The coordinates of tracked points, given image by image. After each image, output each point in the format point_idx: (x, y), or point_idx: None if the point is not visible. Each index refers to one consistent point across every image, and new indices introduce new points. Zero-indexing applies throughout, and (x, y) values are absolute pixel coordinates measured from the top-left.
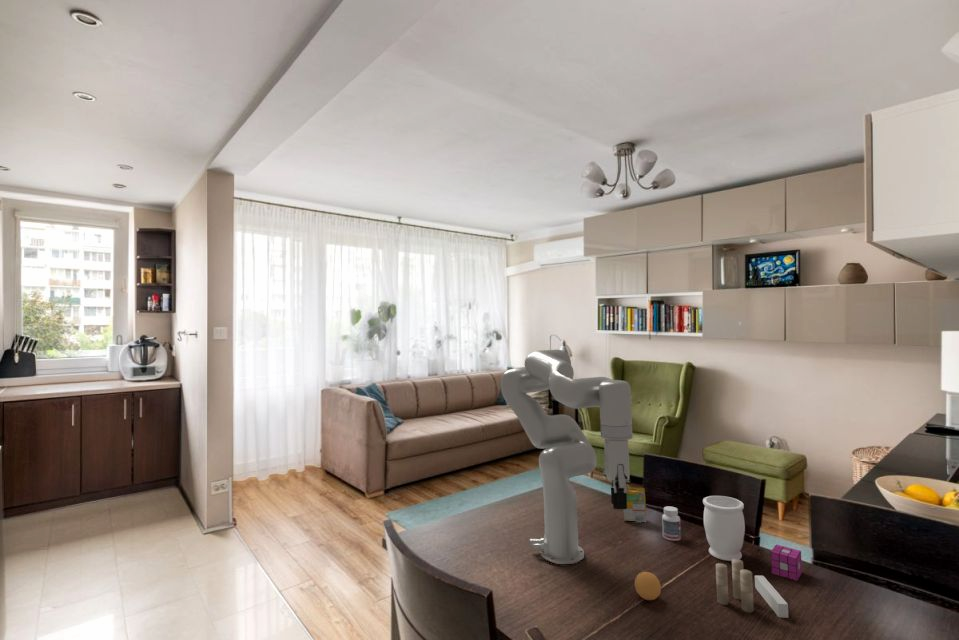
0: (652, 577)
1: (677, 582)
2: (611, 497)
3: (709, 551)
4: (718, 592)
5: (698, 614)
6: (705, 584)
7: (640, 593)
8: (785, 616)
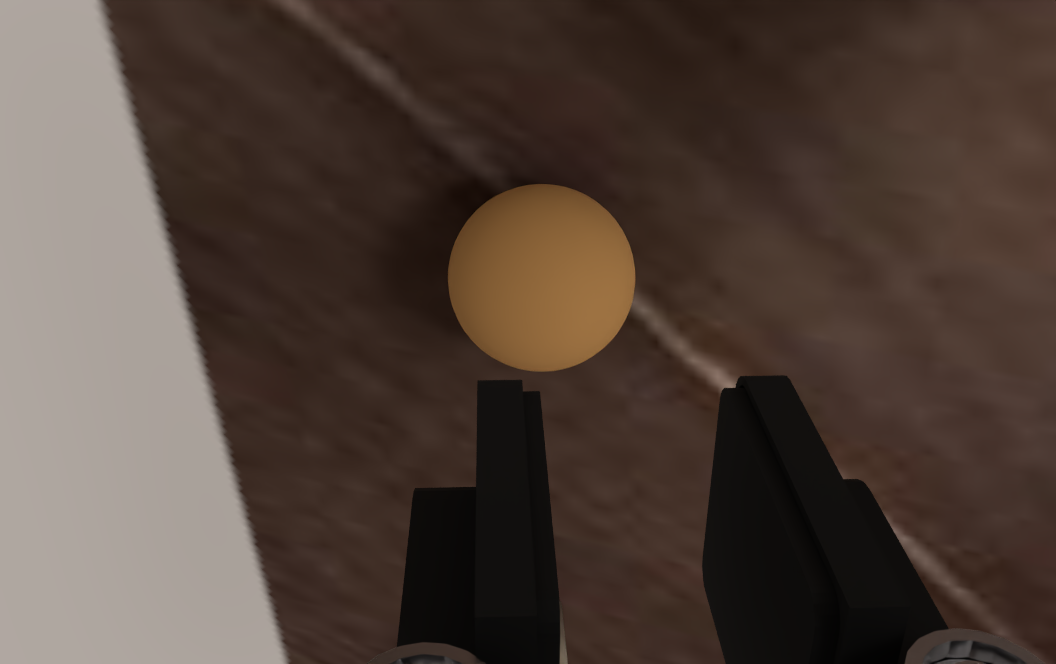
0: (507, 344)
1: None
2: (780, 444)
3: None
4: None
5: (396, 476)
6: None
7: (480, 207)
8: None
